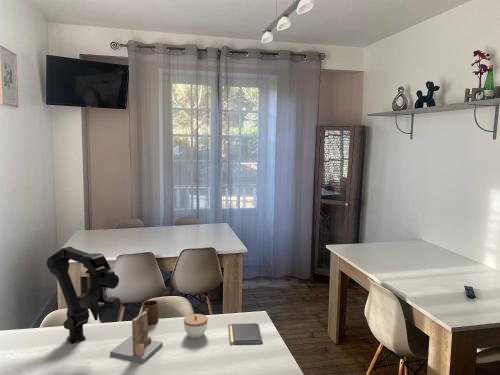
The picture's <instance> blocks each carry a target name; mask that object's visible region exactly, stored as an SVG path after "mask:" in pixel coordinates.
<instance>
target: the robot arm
mask: <svg viewBox="0 0 500 375" xmlns="http://www.w3.org/2000/svg"><path fill="white" fill-rule="evenodd" d="M47 258H48V259H47V260H46V266H47V268H48V270H49V271H50V274H53V275H54V276H55V277H56V279H57V281H58V285H59V287H60V289H61V292H62V295H63V297H64V301H65V302H66V305H67V310H66V320H65V321H64V322H63V323H62V324H63V328H64V329H66V330H68V336H67V337H66V338H67V340H68V342H69V344H71V345H72V344H74V343H78V342H81V341H85V340H86V339H87V338H86V336H85V335H84V325H85V324H88V322H89V318H90V313H91V316H92V317H93V319H94V321H99V322H101V321H102V320H103V318H104V316H105V313H106V311H107V310H108V309H109V310H112V309H114V308H116V307H117V306H119V305H121V299H120V297H117V296H116V297H115V296H111V297H108V298H107V294H106V293H105V289H111V290H113V289H116V288H117V287H118V286H119V282H120V278H119V276H118V274H116V273H115V271H112V267H111V266H110V264H109V262H108V260H107V258H106V256H105V255H104V254H103V253H98V252H97V253H96V252H95V253H88V252H85V251H83V250H80V249H77V248H74V247H73V246H66V247H62V248H60V249H59V250H58V251H57V252H55V253H53V255H51V256H49V257H47ZM70 260H71V261H74V262H75V263H76V262H77V263H79V264H82V265H83V268H84V269H86V271H85V274H87V275H88V282H89V283H88V284H89V287H88V288H87V289H86V293H81V294H80V295H77V294H78V293H77V292H76V288H75V286H74V284H73V280H72V278H71V276H70V273H69V269H70V262H69V261H70Z"/></svg>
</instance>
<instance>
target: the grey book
mask: <svg viewBox="0 0 500 375" xmlns="http://www.w3.org/2000/svg"><path fill="white" fill-rule="evenodd" d="M227 328H228V340H229V341H228V342H229V346H259V345H260V346H261V345H263V344H264V342H263V337H262V334H261V330H260V326H259V323H253V322H252V323H232V324H228V325H227Z"/></svg>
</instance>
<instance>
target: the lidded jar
mask: <svg viewBox="0 0 500 375" xmlns="http://www.w3.org/2000/svg"><path fill="white" fill-rule="evenodd" d="M208 320H209V318H208V317H207V316H206V315H204V314H201V313H194V314H188V315H186V316H185V317H184V319H183V326H184V328H183V329H184V332H185V333H186V334H187V335H188V336H189V338H191V339H199V338H201V337H203V335H204V334H205V333H206V331H207V329H208Z"/></svg>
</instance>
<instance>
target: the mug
mask: <svg viewBox="0 0 500 375" xmlns="http://www.w3.org/2000/svg"><path fill="white" fill-rule="evenodd" d="M141 309H142V312H141V313H143V312H144V311H146V312H147V318H148V326H149V325H155V324H157V323H158V322H159V302H158V301H157V300H155V299H154V300H152V299H151V300H146V301H144V302H142V308H141Z"/></svg>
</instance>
